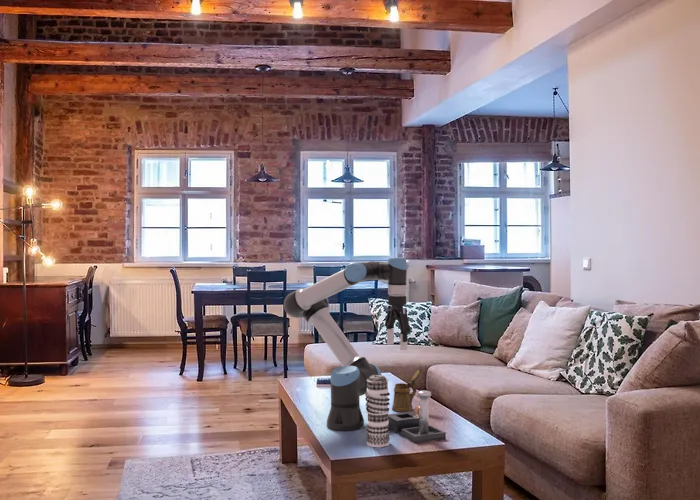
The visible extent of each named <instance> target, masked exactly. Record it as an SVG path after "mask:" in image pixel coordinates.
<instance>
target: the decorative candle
mask: <svg viewBox="0 0 700 500" xmlns="http://www.w3.org/2000/svg"><path fill="white" fill-rule="evenodd" d="M366 381H367V386H368V388H367V392H366V394H364V395H365V401H366V402H365V411H366V414H367V421H366V422H367V423H366V432H367V433H366V445H367V446H369V447H372V448H384V447H387V446H389V445H390V433H389V432H390V429H389V420H388V414H390V408H389V406H390V404H391V403H390V402H389V401H390V400H391V399H390V398H389V396H390V395H391V393H390V392H389V386H388V385H389V384H388V383H389V379H387V377H386V376H385V375H383V374H381V375H372V376H370V377H369V379H367V380H366Z"/></svg>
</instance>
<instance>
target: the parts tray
mask: <svg viewBox="0 0 700 500" xmlns="http://www.w3.org/2000/svg"><path fill="white" fill-rule="evenodd" d="M401 437H403V438H404V439H407V440H409V441H410V442H412V443H414V444H419V443H420V444H421V443H426V442H427V443H429V442H434V441H441V440H447V432H445V431H443V430H442V429H439V428H438V427H436V426H434V425H433V424H432V425H431V424H430V425H429V424H428V434H424V435H419V427H413V428H406V429H402V433H401Z"/></svg>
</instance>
